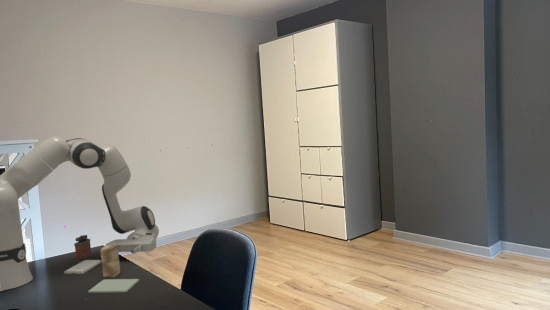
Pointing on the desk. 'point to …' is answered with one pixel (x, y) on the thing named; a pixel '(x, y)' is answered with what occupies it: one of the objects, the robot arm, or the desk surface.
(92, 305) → the desk surface
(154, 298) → the desk surface
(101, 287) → the mat
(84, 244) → the lighter
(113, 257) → the oak block
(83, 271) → the external hard drive
